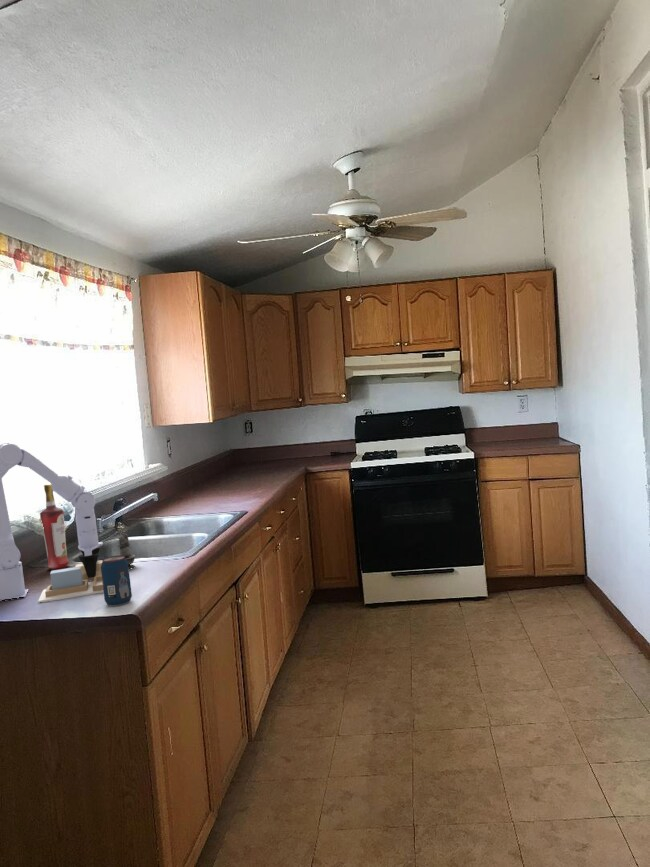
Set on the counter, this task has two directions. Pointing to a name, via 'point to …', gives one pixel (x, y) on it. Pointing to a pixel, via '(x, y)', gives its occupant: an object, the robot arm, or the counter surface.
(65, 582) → the light blue block
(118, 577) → the soda can
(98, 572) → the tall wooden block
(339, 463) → the counter surface
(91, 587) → the jig
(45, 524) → the liquor
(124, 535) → the salt shaker
